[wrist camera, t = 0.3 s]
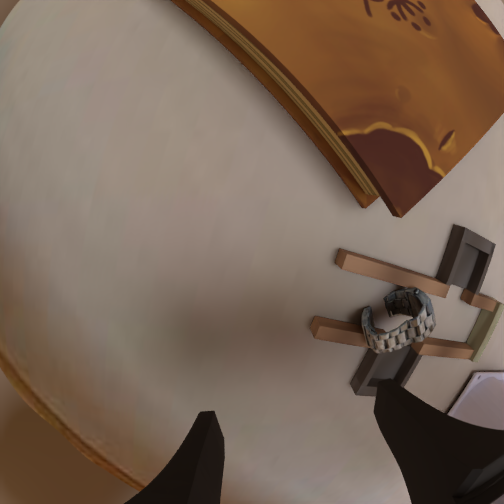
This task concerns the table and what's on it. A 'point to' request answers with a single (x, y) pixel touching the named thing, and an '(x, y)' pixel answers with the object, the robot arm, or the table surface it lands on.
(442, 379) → the table surface
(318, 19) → the diary
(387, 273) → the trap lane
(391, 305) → the wristwatch
